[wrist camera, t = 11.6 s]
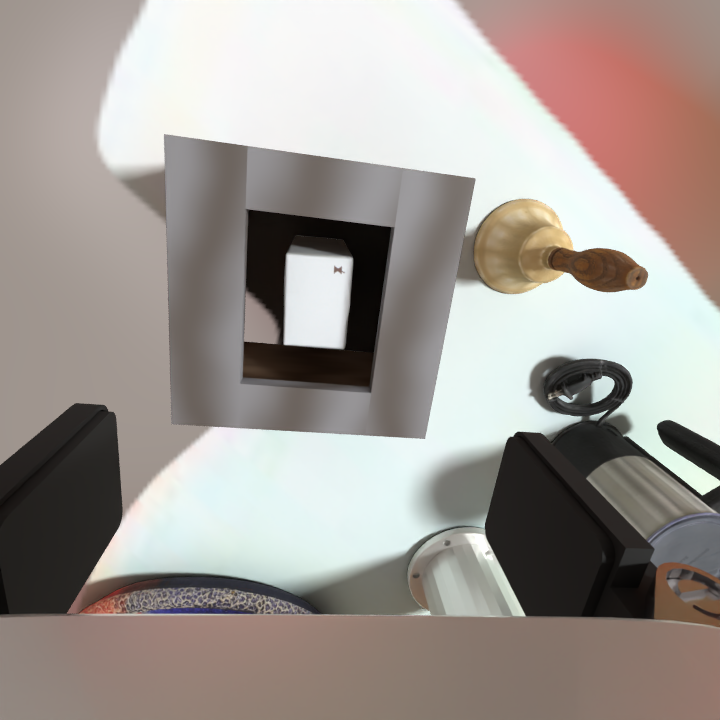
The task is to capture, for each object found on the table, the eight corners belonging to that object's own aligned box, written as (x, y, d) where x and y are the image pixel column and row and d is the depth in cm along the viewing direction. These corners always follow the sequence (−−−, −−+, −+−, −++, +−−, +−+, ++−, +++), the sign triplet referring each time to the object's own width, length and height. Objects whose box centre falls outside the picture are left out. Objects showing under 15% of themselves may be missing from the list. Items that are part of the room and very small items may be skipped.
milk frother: (578, 505, 50) (679, 621, 37) (480, 439, 46) (553, 542, 32) (672, 413, 47) (820, 502, 33) (576, 333, 43) (702, 397, 29)
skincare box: (293, 234, 37) (284, 249, 26) (343, 238, 37) (356, 255, 26) (290, 304, 39) (281, 346, 28) (338, 307, 40) (347, 351, 28)
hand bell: (493, 309, 41) (595, 372, 26) (458, 229, 38) (551, 248, 23) (574, 265, 40) (726, 305, 25) (545, 180, 37) (697, 168, 23)
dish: (324, 667, 56) (325, 710, 51) (63, 655, 51) (38, 701, 46) (347, 574, 51) (351, 612, 46) (61, 550, 46) (33, 590, 41)
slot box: (417, 185, 37) (475, 178, 23) (390, 363, 42) (424, 438, 29) (221, 158, 34) (163, 134, 21) (218, 350, 40) (171, 424, 27)
